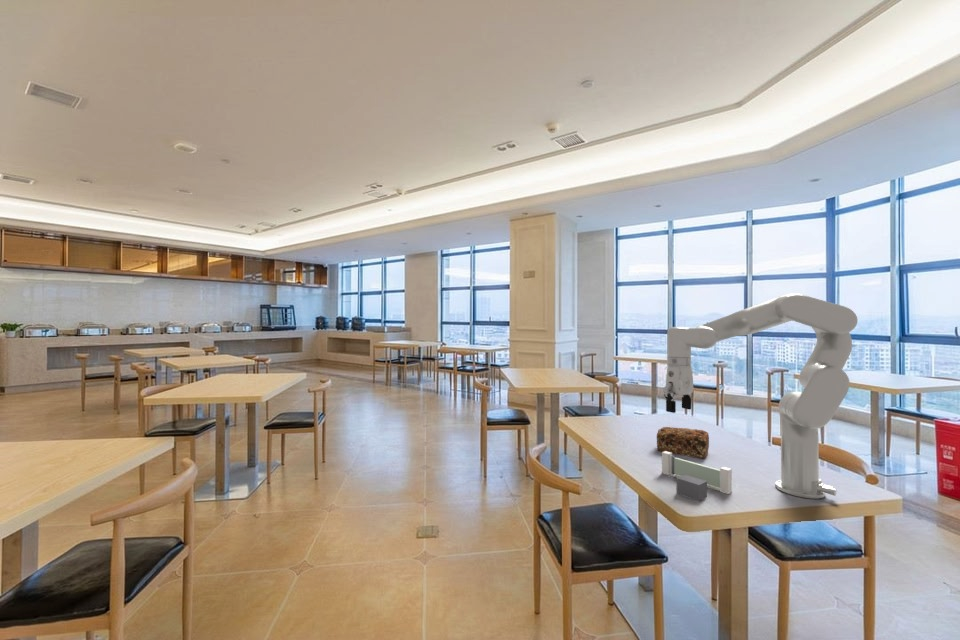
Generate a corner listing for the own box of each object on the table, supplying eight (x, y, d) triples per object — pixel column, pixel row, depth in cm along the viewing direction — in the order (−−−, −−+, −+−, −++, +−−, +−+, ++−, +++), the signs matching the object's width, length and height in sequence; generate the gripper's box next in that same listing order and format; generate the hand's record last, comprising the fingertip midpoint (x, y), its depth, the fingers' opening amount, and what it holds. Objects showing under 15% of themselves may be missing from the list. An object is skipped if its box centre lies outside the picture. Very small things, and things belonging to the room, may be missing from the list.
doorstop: (707, 497, 127) (707, 481, 127) (699, 501, 124) (699, 485, 124) (684, 489, 132) (684, 474, 132) (676, 493, 129) (676, 477, 129)
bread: (709, 453, 168) (709, 429, 168) (706, 460, 160) (706, 435, 160) (661, 445, 179) (661, 422, 179) (655, 451, 171) (655, 427, 171)
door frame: (731, 492, 130) (731, 468, 130) (728, 494, 128) (728, 470, 128) (665, 471, 147) (665, 451, 147) (662, 473, 146) (662, 452, 146)
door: (721, 488, 132) (721, 468, 132) (719, 489, 131) (719, 469, 131) (672, 473, 145) (672, 455, 145) (670, 474, 144) (670, 456, 144)
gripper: (675, 364, 135) (674, 415, 135) (702, 361, 145) (702, 409, 145) (654, 362, 142) (654, 411, 142) (682, 359, 151) (682, 405, 151)
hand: (678, 410), depth 143 cm, fingers open, 9 cm apart
